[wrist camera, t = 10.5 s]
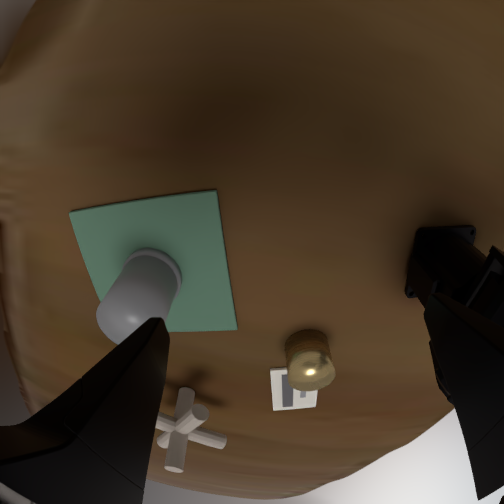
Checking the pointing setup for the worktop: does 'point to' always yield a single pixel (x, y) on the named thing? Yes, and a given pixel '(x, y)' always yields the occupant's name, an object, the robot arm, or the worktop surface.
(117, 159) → the worktop surface
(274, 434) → the worktop surface
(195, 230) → the mat
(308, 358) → the brass fitting
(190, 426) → the pipe connector
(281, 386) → the label tile
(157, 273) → the cylinder
